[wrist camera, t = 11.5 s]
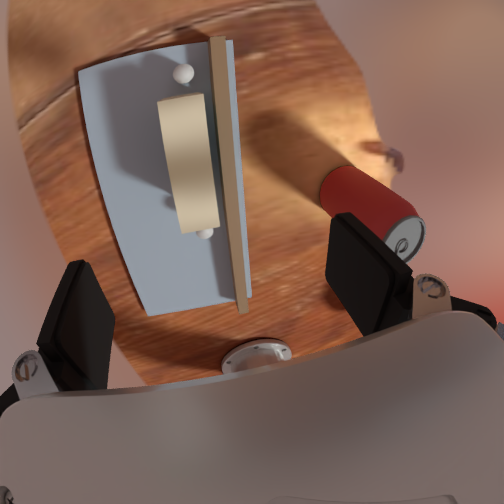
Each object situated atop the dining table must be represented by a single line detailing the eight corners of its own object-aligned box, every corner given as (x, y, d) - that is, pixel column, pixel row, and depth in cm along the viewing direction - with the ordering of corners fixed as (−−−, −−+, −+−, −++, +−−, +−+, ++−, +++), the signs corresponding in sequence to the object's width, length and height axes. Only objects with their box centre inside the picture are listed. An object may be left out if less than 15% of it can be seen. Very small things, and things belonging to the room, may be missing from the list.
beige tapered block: (211, 192, 27) (221, 226, 21) (180, 198, 26) (181, 234, 21) (198, 91, 21) (204, 93, 15) (163, 98, 20) (156, 102, 15)
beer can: (315, 217, 33) (369, 281, 23) (318, 165, 29) (385, 215, 19) (360, 211, 34) (419, 266, 24) (366, 163, 30) (437, 207, 20)
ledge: (250, 292, 37) (258, 316, 33) (148, 310, 35) (147, 336, 31) (230, 41, 19) (240, 33, 16) (81, 71, 17) (63, 70, 14)
